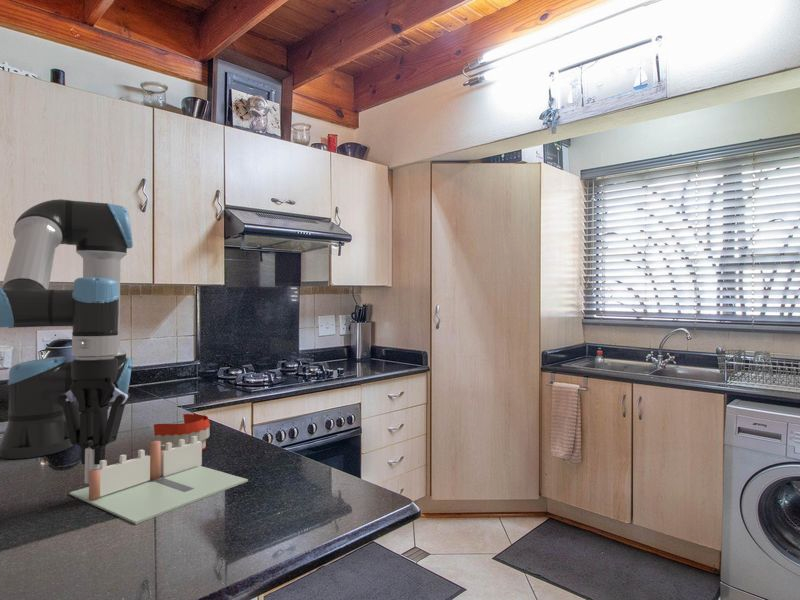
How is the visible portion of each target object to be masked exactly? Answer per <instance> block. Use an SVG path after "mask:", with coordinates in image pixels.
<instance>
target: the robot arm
mask: <svg viewBox="0 0 800 600" xmlns="http://www.w3.org/2000/svg"><path fill="white" fill-rule="evenodd" d="M131 226H132V225H131V221H130V216H129V212H128V209H127V208H126V207H125V206H123V205H118V204H112V203H109V202H107V203H103V202H94V201H93V202H92V201H81V200H69V199H61V198H60V199H51V200H46V201H43V202H41V203H38V204H35V205H33V206H31V207H29V208H28V209H27V210H25V211H24V212H23V213H21V215H20V216H19V217H18V218H17V219H16V221H15V224H14V226H13V230H12V233H13V234H12V235H13V237H14V239H15V242H14V244H13V249H12V252H11V256H10V259H9V262H8V266H7V268H6V271H5V274H4V278H3V281H2V285H1V287H0V328H8V329H12V328H37V327H39V328H40V327H43V328H44V327H72V332H71V333H72V335H71V337H72V338H71V356H72V357H73V358H75V359H72V360H71V361H68V359H66V357H65V356H56V357H55V356H54V357H45V358H39V359H33V360H29V361H23V362H22V361H21V362H18V363H16V364H14V365H12V367H10V369H9V371H8V372H9V373H8V381H7V386H8V409H7V410H8V412H7V414H8V415H7V416H8V421H7V426H6V428H5V430H4V433H3V436H2V438H1V441H0V458H1V459H7V460H8V459H9V460H17V459H18V460H21V459H30V458H37V457H43V456H48V455H52V454H56V453H57V454H58V453H61V452H63V451H66V450H68V449H71V448H72V447H73V446H74V445H77V446H79V447H80V450H81V452H80V454H81V455H80V458H81V459H80V462H81V465H84V484H89V471H90V470H93V469H98V468H100V461H101V460H106V446H107V445H109V444H111V443H114V442H116V441H117V437H118V434H119V429H120V426H121V422H122V418H123V415H124V411H125V407H126V405H127V403H128V401H129V400H130V398H131V394H130V393H129V389H130V381H131V377H132V376H131V374H132V366H133V359H131V358H130V357H127V352H126V350H124V349H123V348H122V347H121V260H122V259H123V258H125V256H127V255H128V254H127V253H128V252H127V251H128V249H132V248H133V245H134V244H133V234H132V233H133V232H132V227H131ZM60 245H67V246H68V245H69V246H70V245H71V246H76V247H75V252H76V253H77V255H79V257H80V258H82V277H78V278H76V279H75V280H74V281H73V287H72V289H49V287H50V281H51V275H52V271H53V265H54V259H55V252H56V249H57V248H58V247H59V246H60ZM110 403H112V404H111V406H110ZM109 409H110V410H109Z"/></svg>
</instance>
